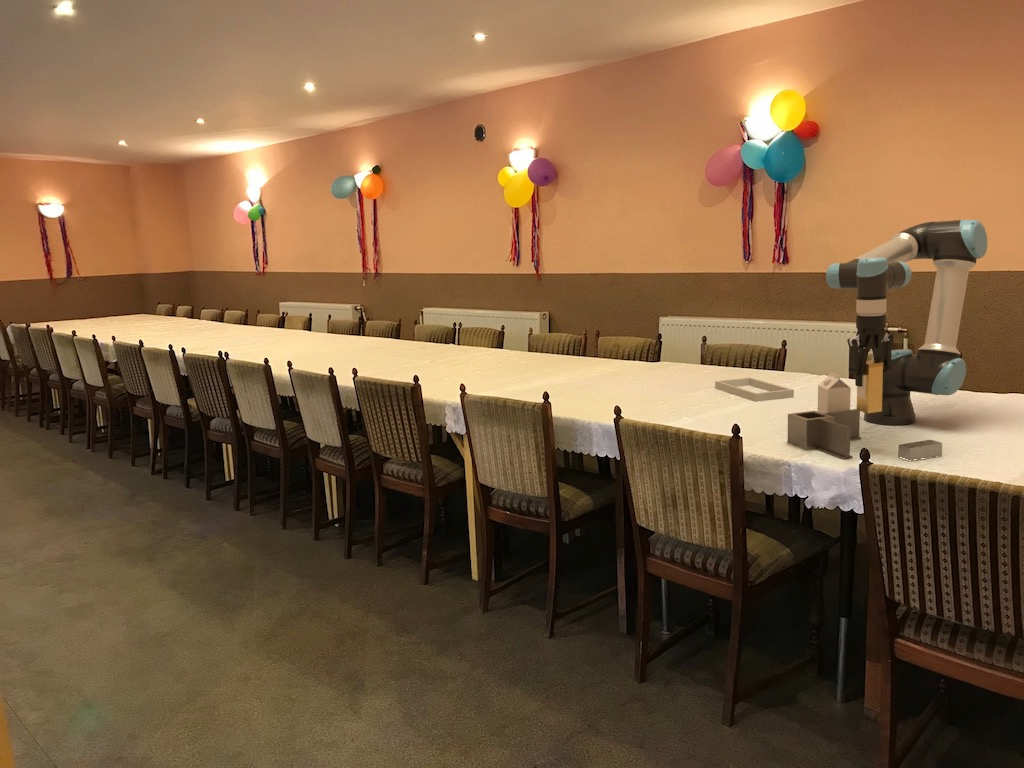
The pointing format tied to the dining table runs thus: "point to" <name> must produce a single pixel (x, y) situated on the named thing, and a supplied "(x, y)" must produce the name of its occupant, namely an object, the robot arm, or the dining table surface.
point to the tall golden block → (872, 388)
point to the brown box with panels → (824, 431)
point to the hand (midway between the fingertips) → (869, 396)
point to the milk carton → (833, 394)
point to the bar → (920, 449)
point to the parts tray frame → (775, 393)
